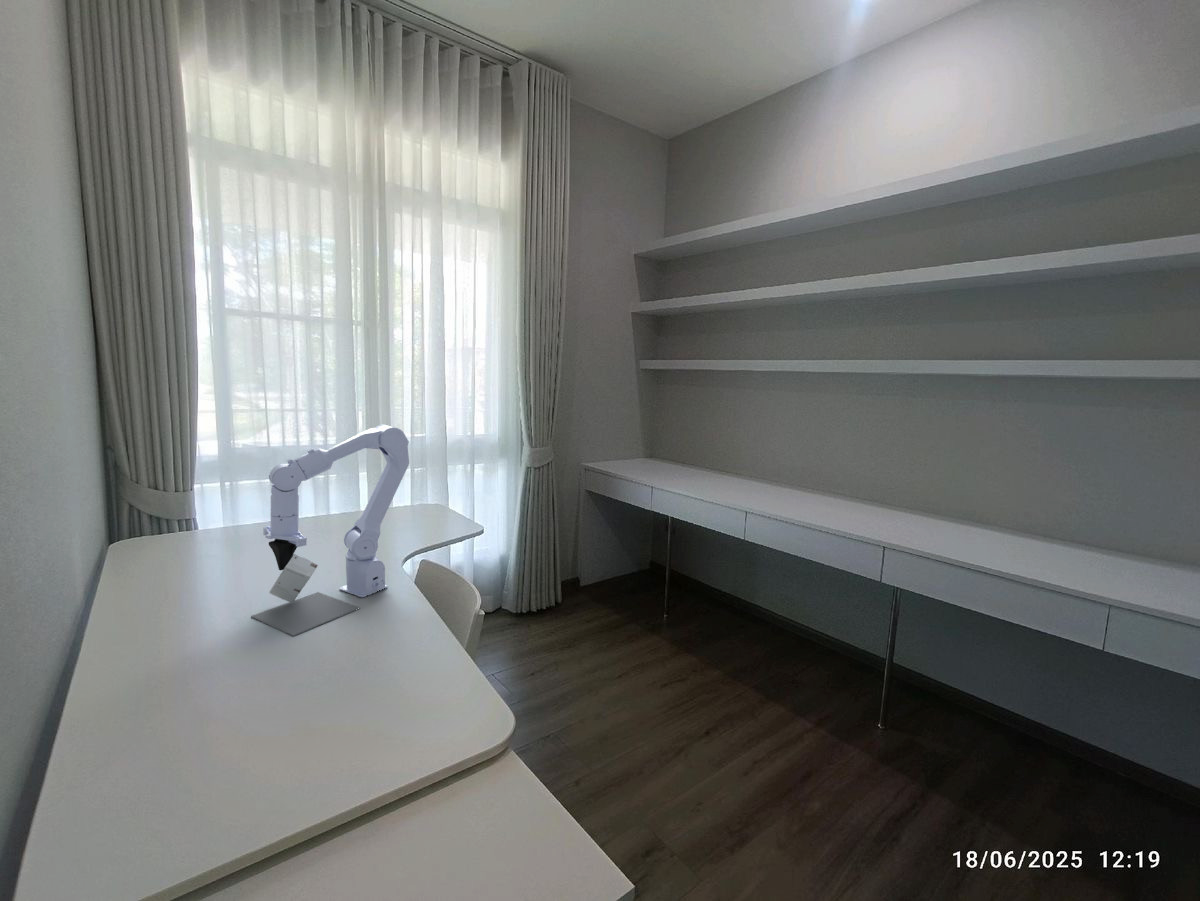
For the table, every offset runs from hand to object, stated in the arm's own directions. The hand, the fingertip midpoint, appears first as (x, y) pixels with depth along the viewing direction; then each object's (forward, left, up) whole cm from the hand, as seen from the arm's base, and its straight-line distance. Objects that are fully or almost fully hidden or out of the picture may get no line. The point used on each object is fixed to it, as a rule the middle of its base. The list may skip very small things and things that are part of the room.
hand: (284, 569), depth 123 cm
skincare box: (+1, -1, -6) cm, 7 cm away
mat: (-9, 0, -9) cm, 12 cm away
